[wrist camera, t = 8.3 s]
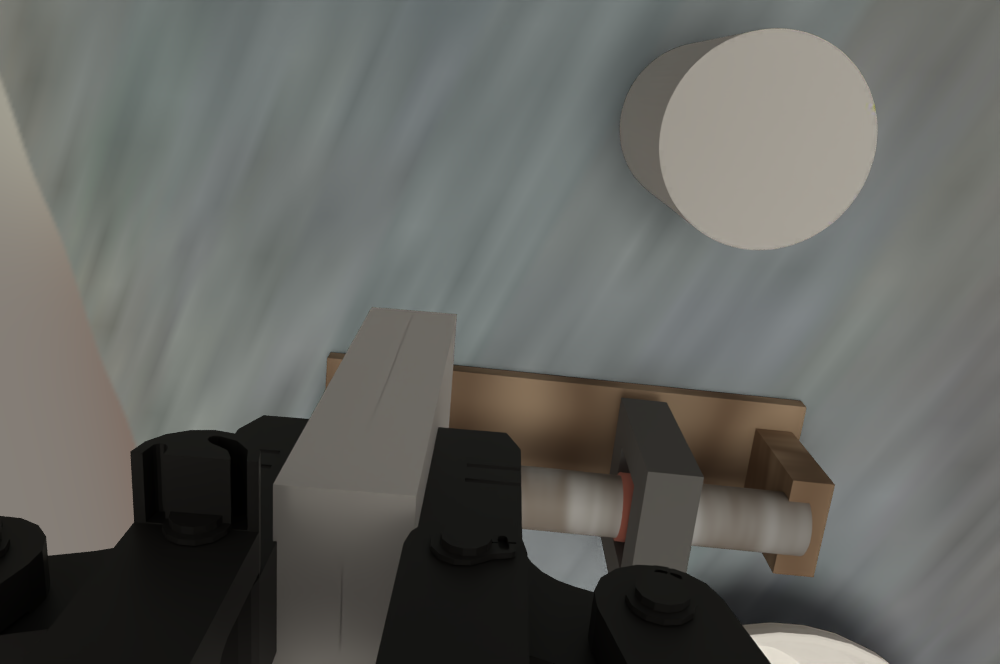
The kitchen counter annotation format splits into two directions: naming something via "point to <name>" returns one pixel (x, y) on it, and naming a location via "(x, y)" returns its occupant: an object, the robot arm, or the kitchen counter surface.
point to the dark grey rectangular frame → (654, 488)
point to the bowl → (808, 645)
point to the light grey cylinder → (752, 135)
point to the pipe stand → (607, 498)
